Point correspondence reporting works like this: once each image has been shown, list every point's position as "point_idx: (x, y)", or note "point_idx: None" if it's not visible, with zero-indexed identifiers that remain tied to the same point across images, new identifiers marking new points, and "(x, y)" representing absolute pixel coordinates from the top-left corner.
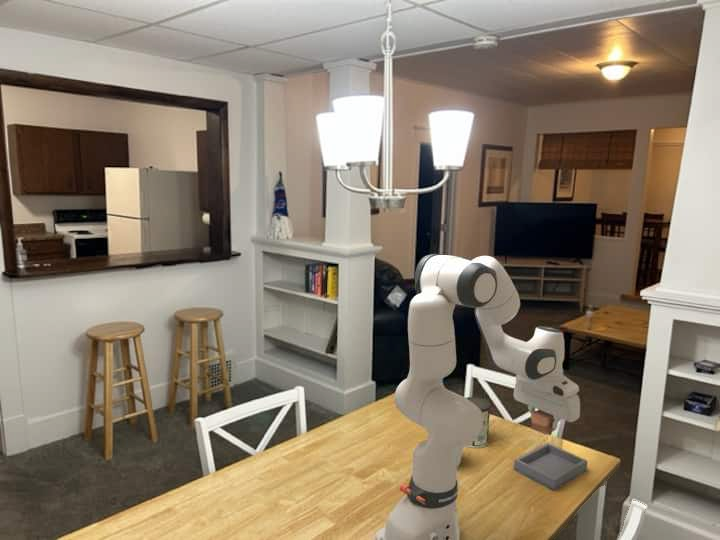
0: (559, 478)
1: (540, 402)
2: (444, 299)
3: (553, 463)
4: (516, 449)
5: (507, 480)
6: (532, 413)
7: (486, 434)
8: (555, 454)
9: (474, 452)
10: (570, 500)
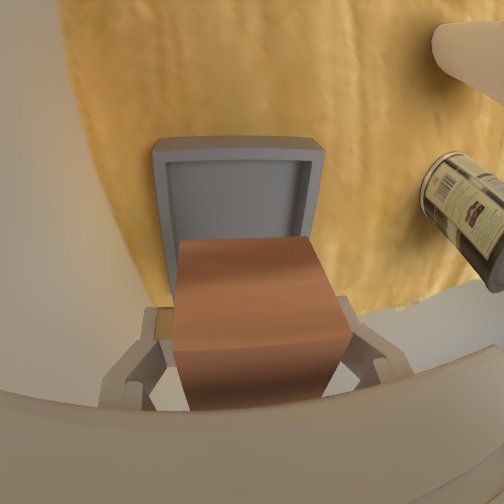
0: (155, 178)
1: (307, 487)
2: None
3: None
4: (355, 234)
5: (293, 70)
6: (347, 331)
7: (440, 207)
8: None
9: (431, 139)
10: (102, 143)
